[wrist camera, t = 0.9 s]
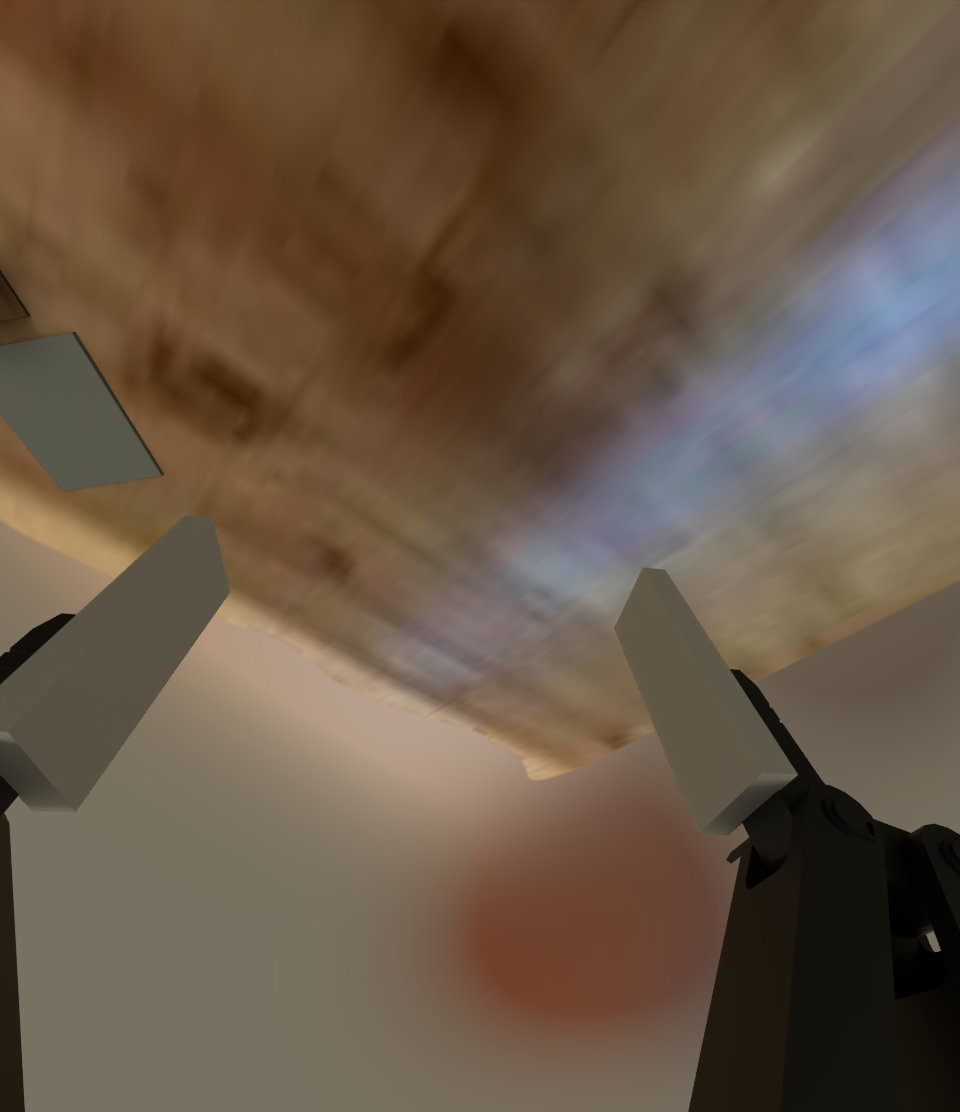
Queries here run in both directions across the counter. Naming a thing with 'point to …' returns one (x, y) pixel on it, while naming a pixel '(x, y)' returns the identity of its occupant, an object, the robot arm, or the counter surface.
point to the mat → (69, 415)
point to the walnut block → (10, 302)
